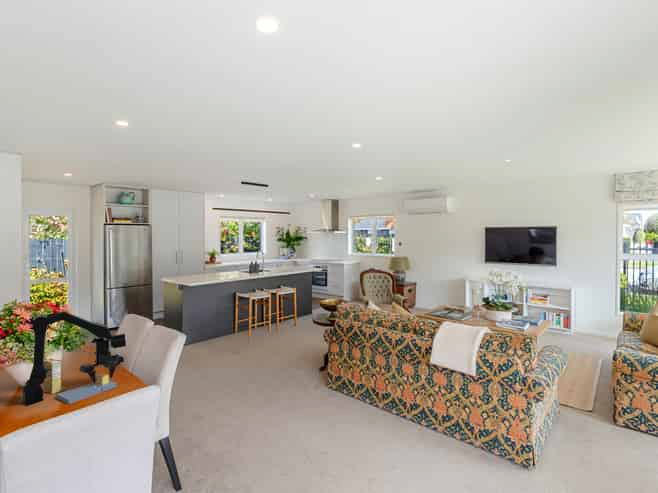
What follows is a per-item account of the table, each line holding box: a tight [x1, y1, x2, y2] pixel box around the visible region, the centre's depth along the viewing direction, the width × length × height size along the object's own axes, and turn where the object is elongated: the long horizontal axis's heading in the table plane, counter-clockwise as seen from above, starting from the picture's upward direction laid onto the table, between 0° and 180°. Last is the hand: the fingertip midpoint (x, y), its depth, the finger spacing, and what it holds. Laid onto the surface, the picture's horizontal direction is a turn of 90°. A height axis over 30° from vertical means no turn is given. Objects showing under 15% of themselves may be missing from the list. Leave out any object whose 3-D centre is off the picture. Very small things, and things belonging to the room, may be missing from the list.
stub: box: [88, 373, 118, 393], centre depth 177 cm, size 7×12×6 cm, turn 60°
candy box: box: [41, 358, 62, 395], centre depth 173 cm, size 9×4×15 cm, turn 66°
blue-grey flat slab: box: [55, 383, 103, 405], centre depth 168 cm, size 14×12×2 cm
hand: (102, 380), depth 177 cm, fingers open, 8 cm apart
